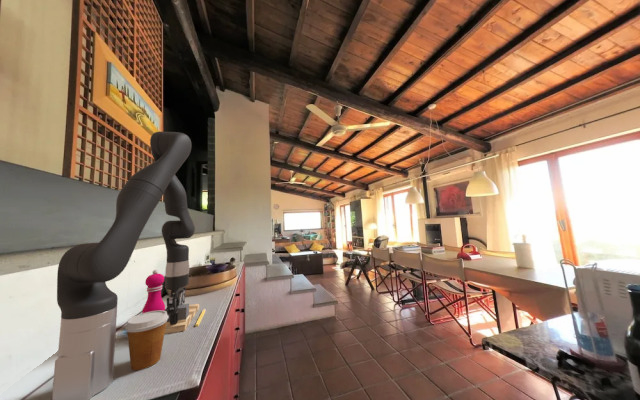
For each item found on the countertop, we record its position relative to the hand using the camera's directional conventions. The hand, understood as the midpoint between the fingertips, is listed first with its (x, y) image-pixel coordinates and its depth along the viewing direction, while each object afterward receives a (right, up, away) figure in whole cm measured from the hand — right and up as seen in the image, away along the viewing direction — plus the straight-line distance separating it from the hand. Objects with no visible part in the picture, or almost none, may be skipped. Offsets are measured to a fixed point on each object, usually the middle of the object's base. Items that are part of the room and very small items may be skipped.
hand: (176, 320), depth 80 cm
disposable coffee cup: (+6, 0, -21) cm, 22 cm away
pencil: (+6, -3, +6) cm, 9 cm away
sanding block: (0, 0, 0) cm, 0 cm away
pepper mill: (-12, -3, +5) cm, 13 cm away
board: (-2, -3, +6) cm, 7 cm away
